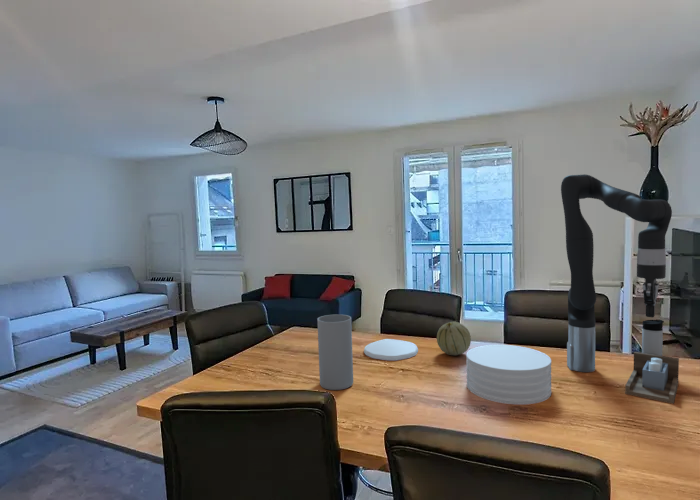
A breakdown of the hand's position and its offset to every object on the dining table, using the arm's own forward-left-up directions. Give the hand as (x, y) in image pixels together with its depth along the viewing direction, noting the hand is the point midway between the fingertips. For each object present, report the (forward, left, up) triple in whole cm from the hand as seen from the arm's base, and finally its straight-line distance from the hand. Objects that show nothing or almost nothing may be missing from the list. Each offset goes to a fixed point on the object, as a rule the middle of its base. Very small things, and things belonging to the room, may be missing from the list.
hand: (650, 316), depth 136 cm
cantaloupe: (-63, +35, -27) cm, 77 cm away
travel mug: (+10, +26, -27) cm, 39 cm away
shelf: (+4, +9, -27) cm, 29 cm away
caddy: (+6, +11, -26) cm, 29 cm away
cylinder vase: (-104, -8, -27) cm, 108 cm away
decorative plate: (-91, +35, -28) cm, 101 cm away
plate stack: (-43, +1, -27) cm, 51 cm away
